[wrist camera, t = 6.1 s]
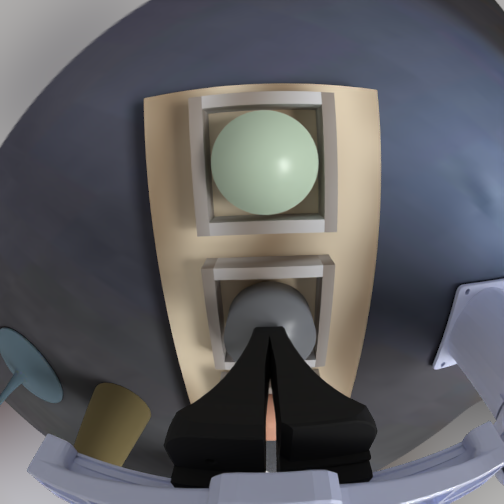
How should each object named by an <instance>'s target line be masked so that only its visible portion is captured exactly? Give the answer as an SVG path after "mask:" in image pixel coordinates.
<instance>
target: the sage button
mask: <svg viewBox="0 0 504 504" xmlns="http://www.w3.org/2000/svg"><path fill="white" fill-rule="evenodd" d="M318 164H319V161H318V153H317V148H316V146H315V143H314V141H313V139H312V137H311V135H310V134H309V132H308V131H307V130H306V129H305V128H304V126H303V125H302V124H300V123H299V122H298V121H297V120H295V119H294V118H292V117H290V116H288V115H286V114H284V113H280V112H277V111H271V110H258V111H252V112H248V113H245V114H243V115H241V116H239V117H237V118H235V119H234V120H232V121H231V122H230V123H229V124H227V125H226V126H225V127H224V129H223V130H222V131H221V132H220V134H219V135H218V137H217V139H216V141H215V143H214V146H213V150H212V155H211V169H212V175H213V178H214V181H215V183H216V185H217V187H218V189H219V191H220V192H221V193H222V195H223V196H224V197H225V198H226V199H227V200H228V201H229V202H230V203H232V204H233V205H234V206H236V207H237V208H239V209H241V210H243V211H246V212H249V213H252V214H258V215H272V214H278V213H281V212H284V211H287V210H289V209H291V208H293V207H294V206H296V205H297V204H299V203H300V202H301V201H302V200H303V199H304V198H305V197H306V196H307V195H308V193H309V192H310V190H311V189H312V187H313V185H314V183H315V180H316V177H317V173H318Z"/></svg>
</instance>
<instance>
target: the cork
mask: <svg viewBox="0 0 504 504" xmlns="http://www.w3.org/2000/svg"><path fill="white" fill-rule="evenodd" d="M150 417H151V413H150V409H149V408H148V406H147V405H146V403H145V402H144V401H143V400H142V399H141V398H140V397H139V396H137V395H136V394H134V393H133V392H132V391H130V390H128V389H126V388H124V387H122V386H119V385H116V384H113V383H101V384H98V385H97V387H96V388H95V390H94V393H93V395H92V398H91V400H90V403H89V405H88V408H87V410H86V413H85V416H84V418H83V421H82V424H81V427H80V429H79V432H78V435H77V438H76V441H75V444H74V448H75V449H76V450H77V452H78V453H81V454H83V455H86V456H89V457H92V458H94V459H97V460H100V461H103V462H107V463H110V464H113V465H116V466H120V467H122V465H123V463H124V462H125V460H126V458H127V457H128V455H129V453H130V452H131V450H132V448H133V446H134V445H135V443H136V441H137V440H138V438H139V436H140V435H141V433H142V431H143V430H144V428H145V426H146V425H147V423H148V421H149V419H150Z"/></svg>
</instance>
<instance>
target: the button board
mask: <svg viewBox="0 0 504 504" xmlns="http://www.w3.org/2000/svg"><path fill="white" fill-rule="evenodd" d="M258 110H271V111H277V112H280V113H284V114H286V115H288V116H290V117H292V118H294V119H295V120H297V121H298V122H299V123H300V124H302V125H303V126H304V128H305V129H306V130H307V131H308V132H309V134H310V135H311V137H312V139H313V141H314V143H315V146H316V148H317V153H318V161H319V164H318V173H317V177H316V180H315V183H314V185H313V187H312V189H311V190H310V192H309V193H308V195H307V196H306V197H305V198H304V199H303V200H302V201H301V202H300V203H299V204H297V205H296V206H294V207H293V208H291V209H289V210H287V211H284V212H281V213H278V214H272V215H258V214H252V213H249V212H246V211H243V210H241V209H239V208H237V207H236V206H234V205H233V204H232V203H230V202H229V201H228V200H227V199H226V198H225V197H224V196H223V195H222V193H221V192H220V191H219V189H218V187H217V185H216V183H215V181H214V178H213V175H212V169H211V155H212V150H213V146H214V143H215V141H216V139H217V137H218V135H219V134H220V132H221V131H222V130H223V129H224V127H225V126H226V125H227V124H229V123H230V122H231V121H232V120H234V119H235V118H237V117H239V116H241V115H243V114H245V113H248V112H252V111H258ZM144 127H145V148H146V164H147V176H148V188H149V198H150V207H151V216H152V224H153V231H154V238H155V245H156V252H157V258H158V265H159V271H160V276H161V282H162V287H163V293H164V298H165V303H166V308H167V313H168V317H169V322H170V326H171V331H172V335H173V340H174V344H175V348H176V352H177V356H178V360H179V364H180V368H181V371H182V375H183V379H184V382H185V386H186V389H187V393H188V396H189V400H190V403H191V404H192V403H194V402H195V401H197V400H198V399H200V398H201V397H202V396H203V395H205V394H206V393H207V392H209V391H210V390H211V389H212V388H213V387H215V386H216V385H217V384H218V383H219V382H220V381H221V380H222V379H223V378H224V377H225V375H226V374H227V373H228V372H229V371H230V370H231V368H232V367H233V366H234V364H235V363H236V362H235V361H234V360H233V359H232V358H231V356H230V355H229V354H228V352H227V350H226V347H225V344H224V331H225V326H226V322H227V317H228V312H229V308H230V305H231V303H232V301H233V300H234V298H235V297H236V296H237V295H238V293H240V292H241V291H242V290H243V289H245V288H247V287H248V286H251V285H253V284H256V283H260V282H267V281H274V282H281V283H284V284H287V285H290V286H292V287H293V288H295V289H296V290H298V291H299V292H300V293H301V294H302V295H303V296H304V297H305V299H306V301H307V303H308V305H309V308H310V311H311V315H312V318H313V322H314V326H315V329H316V342H315V346H314V348H313V350H312V352H311V354H310V355H309V356H308V357H307V358H306V360H305V362H306V363H307V364H308V365H309V366H310V367H311V368H312V369H313V371H314V372H315V373H317V374H318V375H319V376H320V377H321V378H322V379H323V380H324V381H325V382H327V383H328V384H329V385H331V386H332V387H333V388H335V389H336V390H337V391H339V392H340V393H342V394H344V395H345V396H347V397H349V398H350V396H351V392H352V388H353V384H354V381H355V377H356V373H357V368H358V364H359V360H360V355H361V351H362V346H363V341H364V336H365V331H366V326H367V320H368V315H369V309H370V302H371V296H372V289H373V281H374V274H375V265H376V256H377V245H378V233H379V218H380V197H381V141H380V120H379V106H378V95H377V90H373V89H366V88H357V87H348V86H336V85H322V84H291V83H278V84H248V85H233V86H221V87H211V88H203V89H195V90H188V91H181V92H175V93H169V94H164V95H159V96H154V97H149V98H144ZM269 394H272V389H271V382H270V384H269Z"/></svg>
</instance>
